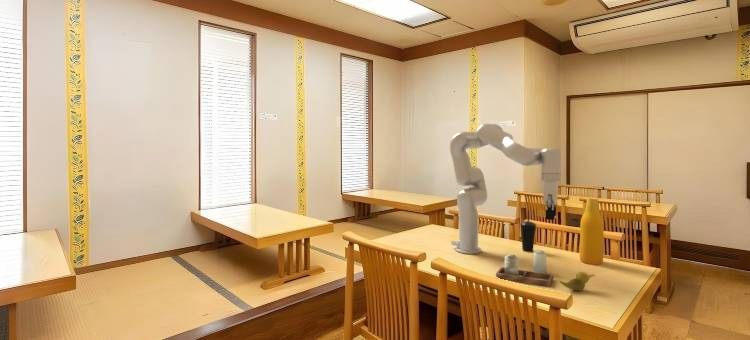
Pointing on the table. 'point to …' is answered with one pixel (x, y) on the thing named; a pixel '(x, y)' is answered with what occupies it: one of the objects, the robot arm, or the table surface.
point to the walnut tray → (522, 273)
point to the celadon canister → (539, 261)
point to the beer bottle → (591, 234)
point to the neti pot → (577, 281)
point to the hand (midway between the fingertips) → (551, 217)
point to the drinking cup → (528, 235)
